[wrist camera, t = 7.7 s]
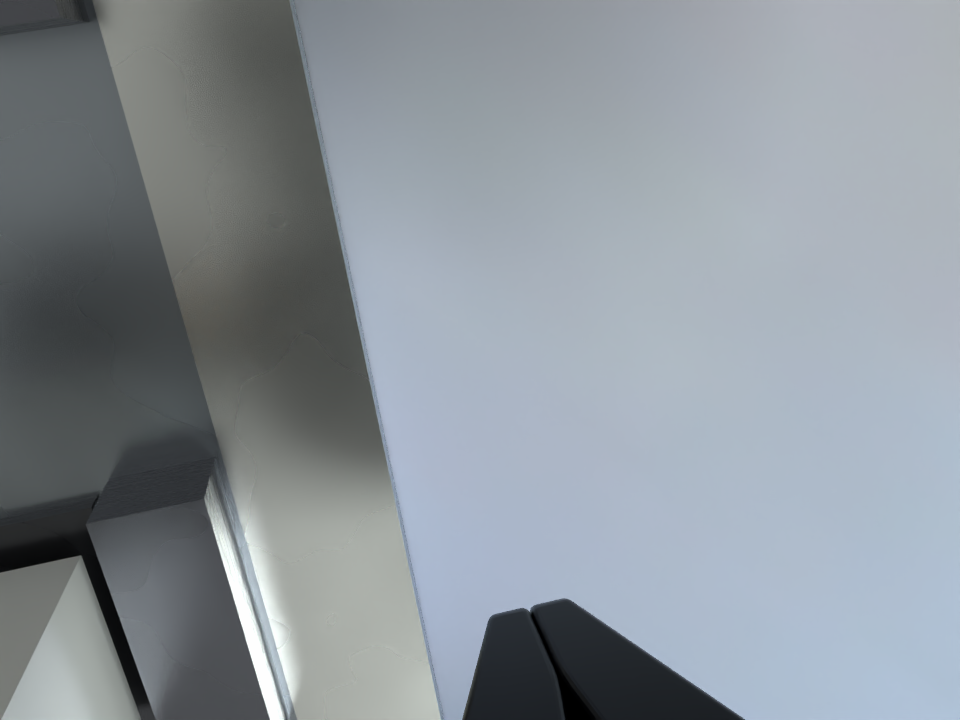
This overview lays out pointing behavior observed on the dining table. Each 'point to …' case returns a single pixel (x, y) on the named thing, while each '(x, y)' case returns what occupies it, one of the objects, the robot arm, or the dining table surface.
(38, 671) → the breaker
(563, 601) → the robot arm
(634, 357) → the dining table surface
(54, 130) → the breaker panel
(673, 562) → the dining table surface
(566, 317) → the dining table surface
